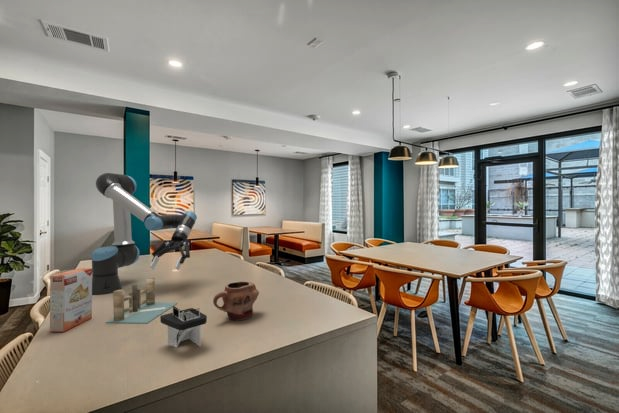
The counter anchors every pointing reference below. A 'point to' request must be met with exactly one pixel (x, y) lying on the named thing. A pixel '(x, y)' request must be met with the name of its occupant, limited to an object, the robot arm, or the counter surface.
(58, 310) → the cracker box
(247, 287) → the brown sculpted mug
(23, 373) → the counter surface
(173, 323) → the black-topped pedestal
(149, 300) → the fence panel
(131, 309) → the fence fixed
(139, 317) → the card
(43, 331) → the counter surface
